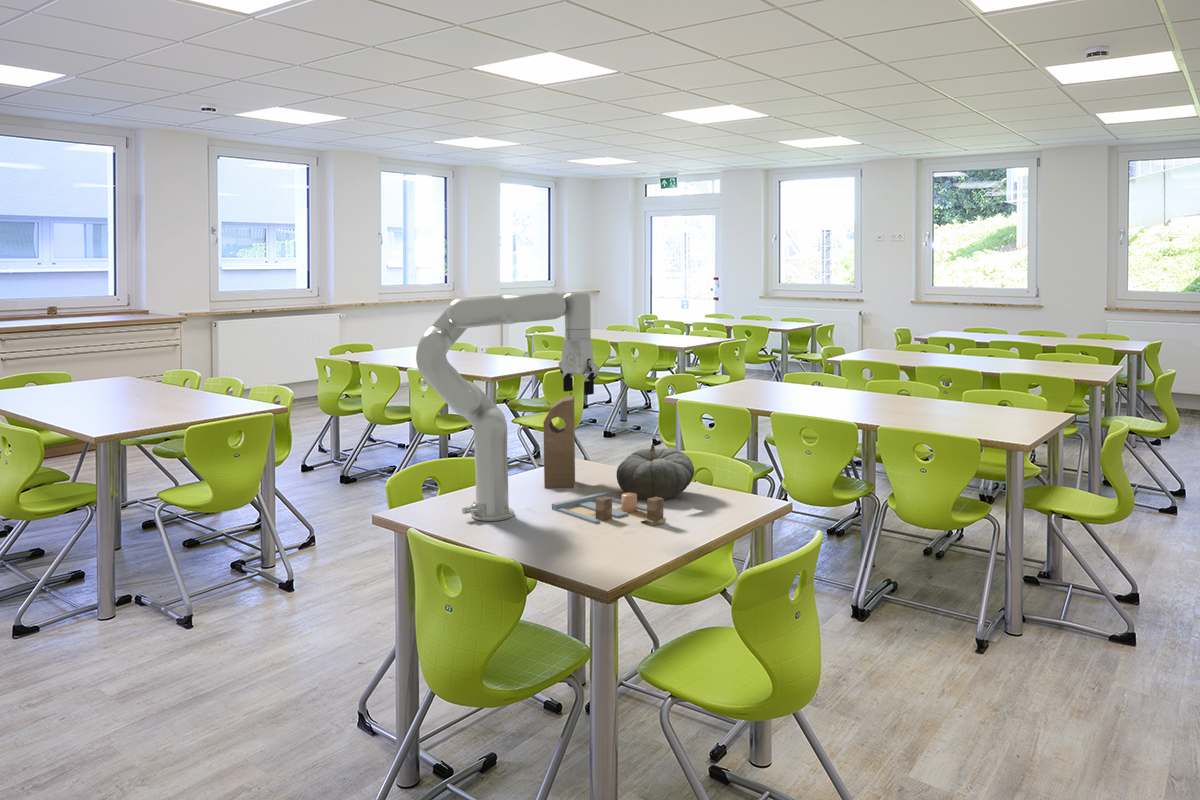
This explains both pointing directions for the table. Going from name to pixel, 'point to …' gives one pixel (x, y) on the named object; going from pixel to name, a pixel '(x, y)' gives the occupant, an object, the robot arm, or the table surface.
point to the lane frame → (588, 507)
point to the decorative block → (560, 446)
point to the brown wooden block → (603, 509)
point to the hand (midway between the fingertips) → (578, 392)
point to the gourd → (655, 473)
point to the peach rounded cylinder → (629, 502)
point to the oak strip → (644, 516)
